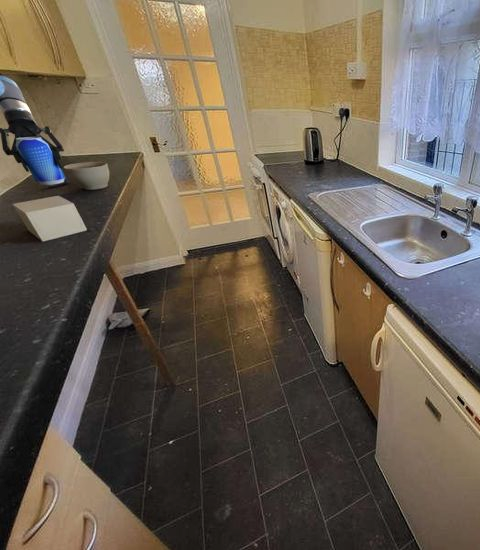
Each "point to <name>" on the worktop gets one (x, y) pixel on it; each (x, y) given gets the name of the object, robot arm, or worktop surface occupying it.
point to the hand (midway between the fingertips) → (43, 167)
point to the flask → (60, 183)
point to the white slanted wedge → (50, 217)
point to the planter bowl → (89, 174)
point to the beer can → (40, 160)
